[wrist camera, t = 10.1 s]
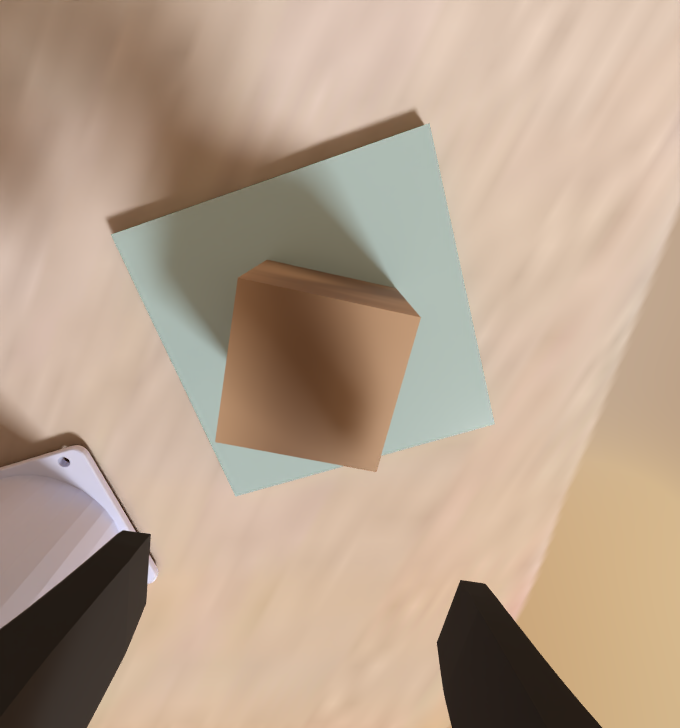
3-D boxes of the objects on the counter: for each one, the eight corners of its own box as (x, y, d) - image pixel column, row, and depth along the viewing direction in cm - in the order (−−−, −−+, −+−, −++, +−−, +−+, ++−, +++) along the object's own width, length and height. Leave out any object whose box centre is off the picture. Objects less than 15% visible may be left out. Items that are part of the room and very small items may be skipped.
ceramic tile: (238, 488, 20) (235, 496, 19) (118, 233, 16) (111, 234, 15) (489, 417, 19) (494, 424, 18) (425, 126, 15) (429, 123, 14)
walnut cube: (395, 287, 16) (420, 317, 11) (365, 404, 18) (376, 472, 13) (267, 259, 16) (237, 277, 11) (247, 380, 17) (215, 441, 13)
